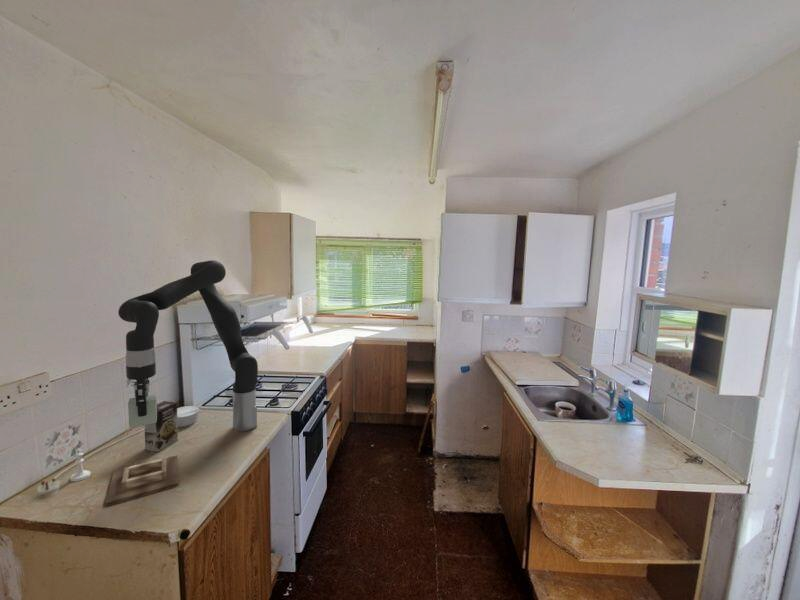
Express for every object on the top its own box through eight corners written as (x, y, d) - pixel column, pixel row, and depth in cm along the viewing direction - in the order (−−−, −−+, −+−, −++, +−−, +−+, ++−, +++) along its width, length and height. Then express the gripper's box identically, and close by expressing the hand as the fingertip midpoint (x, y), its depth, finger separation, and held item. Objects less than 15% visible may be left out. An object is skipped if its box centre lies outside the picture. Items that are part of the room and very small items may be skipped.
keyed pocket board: (177, 457, 124) (177, 448, 123) (178, 485, 109) (177, 475, 108) (114, 473, 113) (113, 463, 113) (105, 506, 99) (105, 495, 98)
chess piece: (79, 472, 113) (77, 444, 112) (94, 472, 114) (92, 444, 112) (65, 481, 108) (63, 452, 107) (82, 481, 109) (80, 452, 108)
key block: (130, 421, 109) (129, 398, 108) (157, 417, 113) (156, 394, 112) (129, 427, 105) (128, 403, 104) (156, 422, 109) (155, 399, 108)
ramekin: (189, 429, 144) (188, 417, 144) (163, 427, 144) (163, 416, 144) (204, 417, 155) (204, 406, 155) (181, 415, 156) (180, 405, 155)
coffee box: (158, 452, 126) (157, 412, 125) (144, 449, 128) (142, 409, 126) (178, 440, 135) (177, 402, 133) (165, 437, 136) (164, 400, 135)
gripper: (128, 357, 110) (130, 406, 112) (123, 370, 99) (125, 424, 101) (156, 355, 115) (158, 402, 117) (154, 367, 103) (156, 419, 105)
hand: (143, 412), depth 109 cm, fingers closed on key block, 4 cm apart
